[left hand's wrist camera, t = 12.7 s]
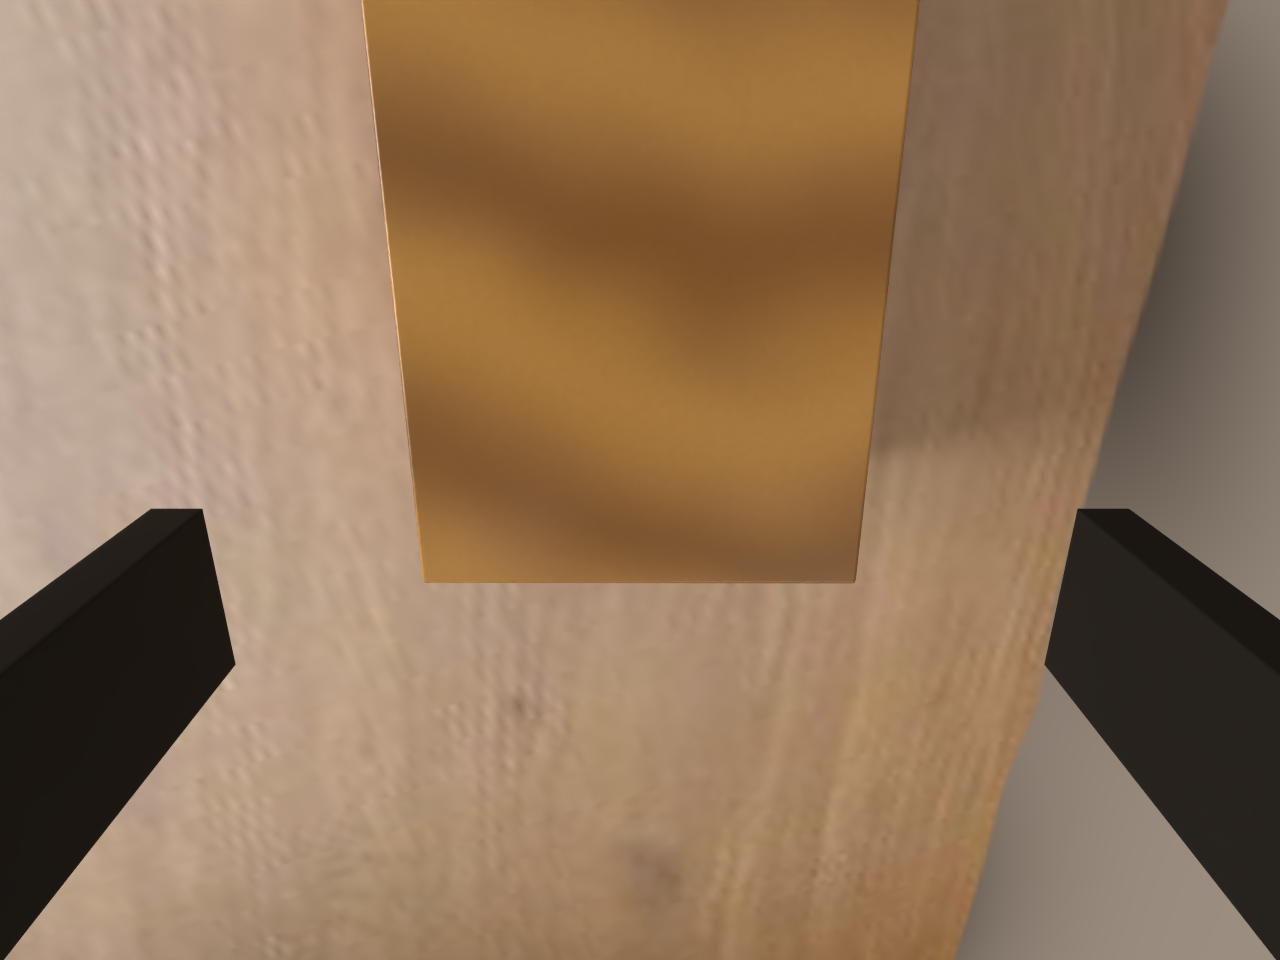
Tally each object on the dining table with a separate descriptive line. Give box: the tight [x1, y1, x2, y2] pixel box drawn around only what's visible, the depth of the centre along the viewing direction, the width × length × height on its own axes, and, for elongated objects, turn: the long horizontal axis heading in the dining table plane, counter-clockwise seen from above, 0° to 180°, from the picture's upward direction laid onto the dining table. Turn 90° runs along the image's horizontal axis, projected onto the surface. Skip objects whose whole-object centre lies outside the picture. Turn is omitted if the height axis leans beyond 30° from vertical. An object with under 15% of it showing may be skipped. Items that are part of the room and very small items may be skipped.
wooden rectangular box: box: [361, 0, 920, 583], centre depth 22 cm, size 19×11×9 cm, turn 0°
